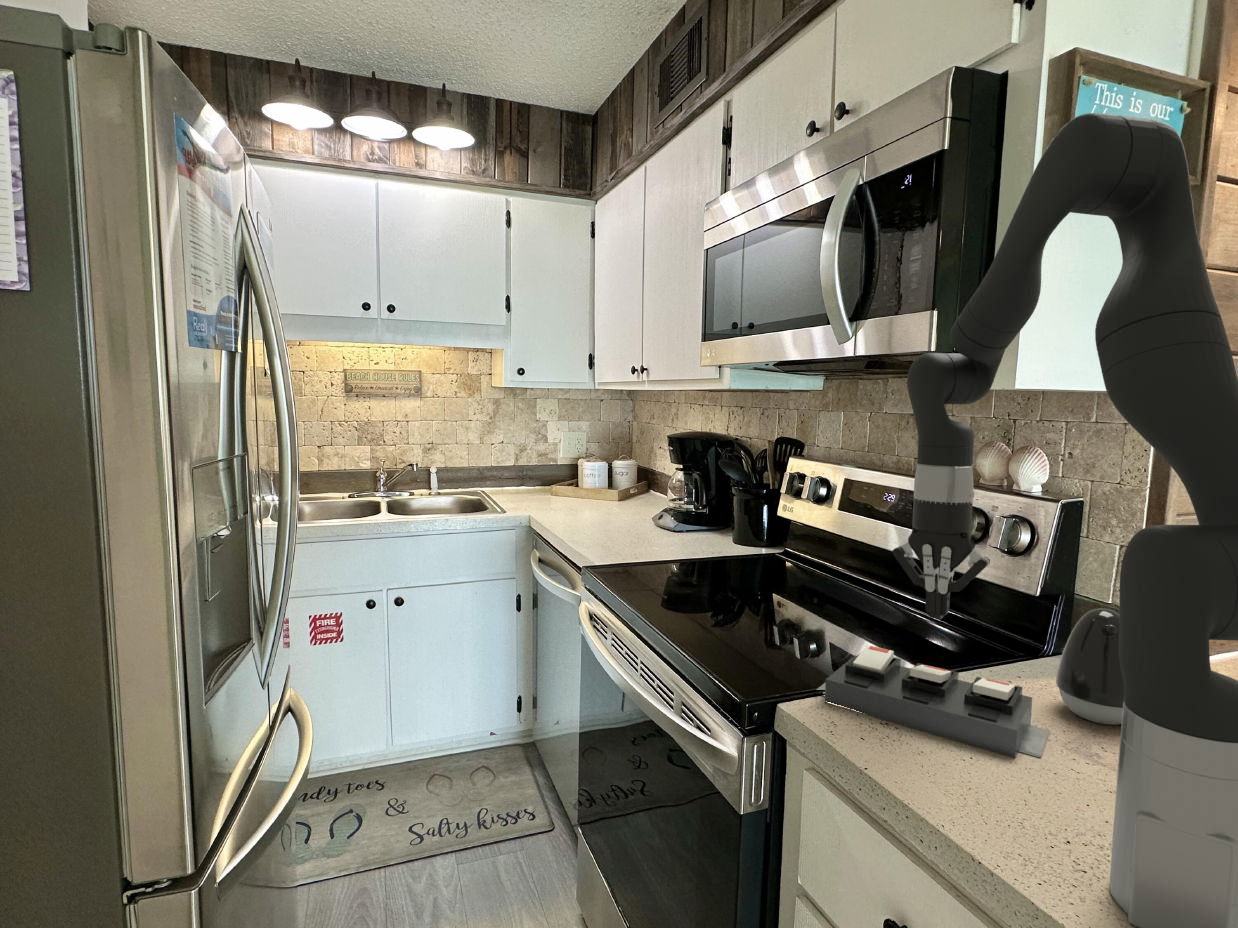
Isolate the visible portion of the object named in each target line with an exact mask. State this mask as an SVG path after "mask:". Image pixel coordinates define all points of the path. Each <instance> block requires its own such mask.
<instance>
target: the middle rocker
mask: <svg viewBox="0 0 1238 928" xmlns="http://www.w3.org/2000/svg"><path fill="white" fill-rule="evenodd" d="M927 665H928V664H925V665H919V666H916V667H914V666H913V667H911V668H910V667H909V668H910V676H914V677H918V678H922V679H926V680H930V681H934V682H938V683H942V682H944V681H946V680H948V679H949V678H950V677H951V671H952V670H950V671H946V670H947V669H946V670H944V669H945V668H942V669H940V668H941V667H937V666H936V667H937V668H936V667H935V666H933V667H932V665H929V666H927Z"/></svg>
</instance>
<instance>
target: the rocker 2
mask: <svg viewBox="0 0 1238 928" xmlns="http://www.w3.org/2000/svg"><path fill="white" fill-rule="evenodd" d="M981 678H982V679H980V680H979V681H977V682H976V683H974V684H973V692H975V693H979V694H984V695H988V696H992V697H996V698H1000V699H1004V700H1008V699H1009V698H1010V697H1011V696H1012V695H1013V694H1014V692H1015V686H1016V685H1014V684H1011V683H1009V682H1008V683H1007V682H1004V681H1003V682H1002V681H999V680H995V679H991V678H984V677H981Z"/></svg>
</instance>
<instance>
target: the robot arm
mask: <svg viewBox="0 0 1238 928" xmlns="http://www.w3.org/2000/svg"><path fill="white" fill-rule="evenodd" d="M1186 153H1187V152H1186V148H1185V146H1184V142H1183V140H1182V138H1181V136H1180V134H1179V133H1178V131H1177V130H1176V129H1175V128H1174V127H1173V126H1172V125H1170V124H1169V123H1167V122H1164V121H1162V120H1158V119H1153V118H1148V117H1147V118H1146V117H1136V116H1127V115H1118V114H1113V113H1112V114H1111V113H1102V112H1099V113H1098V112H1091V113H1089V112H1088V113H1083V114H1081V115H1078V116H1076V117H1073V118H1072V119H1071V120H1069V121H1068V122H1066V123H1065V124H1064V125H1063V126H1062V127H1061V128H1060V129H1059V130H1058V131H1057V133H1056V134H1055V135H1054V136H1053V138H1052V139H1051V141H1050V142H1049V144H1048V145H1047V147H1046V148H1045V150H1044V152H1043V153H1042V156H1041V157H1040V159H1039V161H1038V163H1037V164H1036V167H1035V169H1034V171H1033V173H1032V175H1031V177H1030V179H1029V181H1028V184H1027V186H1026V188H1025V189H1024V192H1023V195H1022V196H1021V199H1020V201H1019V203H1018V205H1017V207H1016V210H1015V212H1014V214H1013V216H1012V218H1011V220H1010V222H1009V225H1008V227H1007V229H1006V231H1005V234H1004V235H1003V238H1002V241H1001V243H1000V245H999V246H998V247H999V248H998V249H997V252H996V254H995V257H994V258H993V261H992V262H991V264H990V267H989V268H988V270H987V272H986V273H985V276H984V277H983V279H982V280H981V282H980V284H979V286H978V287H977V289H976V291H975V292H973V295H972V296H971V298H970V299H969V301H968V302H967V304H966V305H965V307H963V310H962V311H961V312H960V313H959V316H958V317H957V319H956V320H955V322H954V324H953V325H952V327H951V329H950V332H949V342H950V343H951V346H952V347H953V349H955V351H956V352H958V353H955V352H953V353H950V352H949V353H947V352H946V353H945V352H944V353H943V352H927V353H923V354H920V355H918V357H916V358H915V359H914V361H913V362H912V363H911V365H910V367H909V369H908V372H907V378H906V387H907V388H906V389H907V393H908V397H909V400H910V405H911V408H912V412H913V417H914V421H915V425H916V427H915V428H916V430H917V438H918V439H917V457H916V458H917V461H916V470H915V473H914V474H915V475H914V483H913V484H914V485H913V504H912V505H913V507H912V508H913V509H912V528H911V529H912V531H911V533H910V534H909V536H908V539H907V542H905V543H904V544H902V545H899V546H897V547H895V548H893V550H892V551H891V553H892V554H893V556H894V558H895V559H896V561H897V562H898V564H899V565H900V566H901V568H902V570H903V571H904V572H905V574H907V576H908V578H909V579H910V581H911V582H912V583H913V585H915V586H919V587H920V588H921V587H922V588H923V589H924V591H925V607H924V610H925V612H926V614H929V618H932V619H937V620H942V619H943V618H944V617H945V616H946V615H948V613H949V611H950V602H951V601H950V600H951V598H950V597H951V593H954V592H957V593H958V592H961V591H962V590H963V589H964V588H965V587H966V586H967V585H968V584H970V583H971V582H972V581H973V580H974V579H975V578H976V577H977V576H978V575H979V574H980V573H981V572H982V571H984V570H985V568H987V567H988V566H989V565H990V564H991V559H990V558H989V557H987V556H983V555H982V554H981V553H980V552H978V551H977V550H976V549H975V547H976V546H975V542H974V540H973V538H972V521H973V520H972V519H973V502H974V500H973V499H974V498H975V490H974V475H973V474H974V473H973V466H974V465H973V461H974V442H975V441H974V440H975V435H974V434H975V433H974V429H973V427H972V426H971V425H969V424H967V423H964V422H960V421H956V420H952V419H951V418H950V416H949V414H948V413H947V409H946V407H945V405H970V404H974V403H976V402H978V401H980V400H981V399H983V398H984V397H985V396H986V395H987V394H988V393H989V391H991V388H992V386H993V383H994V381H995V378H996V377H997V376H996V375H997V372H998V369H999V367H1000V365H1001V362H1002V360H1003V356H1004V354H1005V352H1006V350H1007V348H1008V347H1009V346H1010V345H1011V343H1012V342H1013V340H1015V338H1016V337H1017V336H1018V334H1019V333H1020V332H1021V330H1022V329H1023V328H1024V327H1025V325H1026V324H1027V323H1028V321H1029V320H1030V318H1031V317H1032V316H1033V314H1034V312H1035V310H1036V308H1037V305H1038V303H1039V300H1040V295H1041V290H1042V289H1041V288H1042V264H1043V263H1042V261H1043V256H1044V255H1043V254H1044V251H1045V246H1046V244H1047V243H1048V240H1049V239H1050V236H1051V235H1052V233H1053V232H1054V231H1055V230H1056V228H1057V227H1058V226H1059V225H1060V223H1061V222H1063V220H1064V219H1066V217H1067V216H1068V215H1069V214H1070V213H1073V214H1081V215H1091V216H1100V217H1108V219H1110V220H1111V221H1112V223H1113V224H1114V227H1115V229H1116V231H1117V235H1118V239H1119V243H1120V244H1119V245H1120V249H1121V255H1122V265H1121V269H1120V272H1119V274H1118V276H1117V278H1116V280H1115V282H1114V284H1113V286H1112V288H1111V289H1110V292H1109V293H1108V294H1107V297H1106V299H1105V301H1104V302H1103V305H1102V306H1101V310H1100V312H1099V315H1098V316H1097V320H1096V324H1095V331H1094V332H1095V333H1094V335H1095V336H1094V337H1095V339H1094V341H1095V346H1096V351H1097V352H1096V353H1097V357H1098V361H1099V365H1100V369H1101V375H1102V378H1103V383H1104V387H1105V390H1106V392H1107V395H1108V397H1109V400H1110V401H1111V403H1112V404H1113V406H1114V407H1115V408H1116V410H1117V412H1119V414H1120V415H1121V417H1123V419H1124V420H1126V422H1127V423H1128V424H1129V425H1130V426H1131V427H1132V429H1134V431H1136V432H1137V434H1139V435H1140V436H1141V437H1142V438H1143V439H1144V440H1145V441H1146V442H1147V443H1148V444H1149V445H1150V446H1151V447H1152V448H1153V449H1154V450H1155V451H1156V452H1157V453H1158V454H1159V455H1160V456H1161V457H1162V459H1164V460H1165V462H1167V463H1168V465H1169V466H1170V467H1171V468H1172V470H1174V472H1175V473H1176V475H1177V476H1178V478H1179V480H1180V481H1181V482H1182V484H1183V486H1184V488H1185V490H1186V493H1187V494H1188V496H1189V498H1190V502H1191V504H1192V507H1193V509H1194V513H1195V515H1196V519H1197V522H1198V524H1156V525H1149V526H1146V527H1144V528H1142V529H1140V530H1138V531H1137V532H1136V533H1135V534H1134V535H1133V536H1132V537H1131V539H1130V540H1129V541H1128V544H1127V545H1126V548H1125V550H1124V553H1123V555H1122V561H1121V565H1120V574H1119V614H1120V619H1119V662H1120V668H1121V672H1122V676H1123V682H1124V701H1123V713H1122V724H1121V727H1120V738H1119V748H1118V749H1119V752H1118V763H1117V765H1118V766H1117V776H1116V789H1115V790H1116V791H1115V802H1114V803H1115V804H1114V814H1113V815H1114V816H1113V817H1114V818H1113V828H1112V839H1111V841H1112V842H1111V844H1112V845H1111V859H1110V870H1109V871H1110V873H1109V885H1108V888H1109V890H1110V891H1109V892H1110V894H1111V896H1112V898H1113V899H1114V900H1115V902H1116V904H1118V906H1119V907H1120V908H1122V910H1123V911H1124V912H1125V913H1126V914H1127V922H1128V923H1129V924H1131V925H1133V926H1136V927H1138V928H1238V679H1235V678H1233V677H1231V676H1227V675H1225V674H1223V673H1219V672H1216V671H1215V670H1212V668H1211V660H1210V641H1237V642H1238V375H1237V371H1236V368H1235V367H1236V365H1235V363H1234V358H1233V353H1232V349H1231V346H1230V342H1229V339H1228V336H1227V332H1226V328H1225V325H1224V321H1223V319H1222V316H1221V313H1220V310H1219V308H1218V304H1217V302H1216V299H1215V297H1214V296H1215V295H1214V293H1213V289H1212V286H1211V282H1210V279H1209V275H1208V271H1207V265H1206V262H1205V257H1204V254H1203V250H1202V246H1201V242H1200V238H1199V235H1198V234H1199V233H1198V230H1197V225H1196V218H1195V211H1194V210H1195V209H1194V205H1193V203H1194V202H1193V196H1192V194H1193V193H1192V188H1191V179H1190V173H1189V165H1188V164H1189V163H1188V159H1187V155H1186ZM914 554H915V556H916V557H917V558H918V560H919V562H920V563H921V564H922V565H923V571H922V570H921V568H920V566H918V564H917V563H916V561H915V559H914V558H913V557H914ZM968 556H969V560H968V561H967V565H968V567H969V569H967V571H965V573H963V574H962V575H961V576H960V577H959V578H958V579H957V580H953V578H954V575H955V569H956V568H957V567H958V566H960V565H961V564H962V563H963V562H964V560H966V559H967V558H968Z"/></svg>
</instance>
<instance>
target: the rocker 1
mask: <svg viewBox="0 0 1238 928" xmlns="http://www.w3.org/2000/svg"><path fill="white" fill-rule="evenodd" d="M894 652H895V651H894V650H891V649H886V648H882V647H877V646H873V645H869V644H867V645H865V646H864V648H863V649H862V650H861V652H859V653H858V654H859V656H858V657H857V658H856V659H855V661H854V662H853V665H854V666H858V667H862V668H866V669H870V670H874V671H878V672H883V671H884V670H885V669H886V667H887V666H888V665H889V663H890V662H891V660H892V659H893V657H894V658H895V656H894V654H895V653H894Z"/></svg>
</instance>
